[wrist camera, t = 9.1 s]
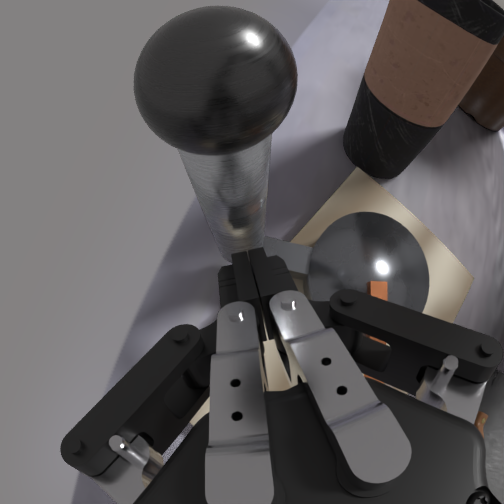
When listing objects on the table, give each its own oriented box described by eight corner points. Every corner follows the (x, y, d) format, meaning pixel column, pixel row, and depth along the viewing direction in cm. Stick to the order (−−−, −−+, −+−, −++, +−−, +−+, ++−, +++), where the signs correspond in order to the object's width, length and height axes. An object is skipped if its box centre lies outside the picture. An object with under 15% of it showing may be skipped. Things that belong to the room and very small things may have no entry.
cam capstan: (408, 391, 17) (605, 432, 1) (204, 392, 18) (44, 551, 1) (408, 229, 21) (558, 94, 4) (220, 214, 21) (159, -18, 5)
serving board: (324, 538, 16) (338, 573, 10) (464, 349, 21) (506, 349, 15) (485, 549, 9) (503, 561, 3) (561, 435, 14) (583, 438, 8)
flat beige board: (461, 282, 22) (476, 277, 20) (299, 491, 17) (302, 504, 15) (350, 177, 25) (358, 164, 22) (161, 382, 20) (151, 387, 18)
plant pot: (412, 62, 31) (446, -16, 15) (468, 70, 32) (502, 13, 16) (475, 145, 26) (540, 70, 11) (520, 140, 28) (570, 88, 12)
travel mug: (370, 193, 24) (488, 10, 5) (325, 132, 26) (376, -55, 7) (420, 167, 25) (525, 28, 6) (378, 114, 27) (442, -34, 8)
